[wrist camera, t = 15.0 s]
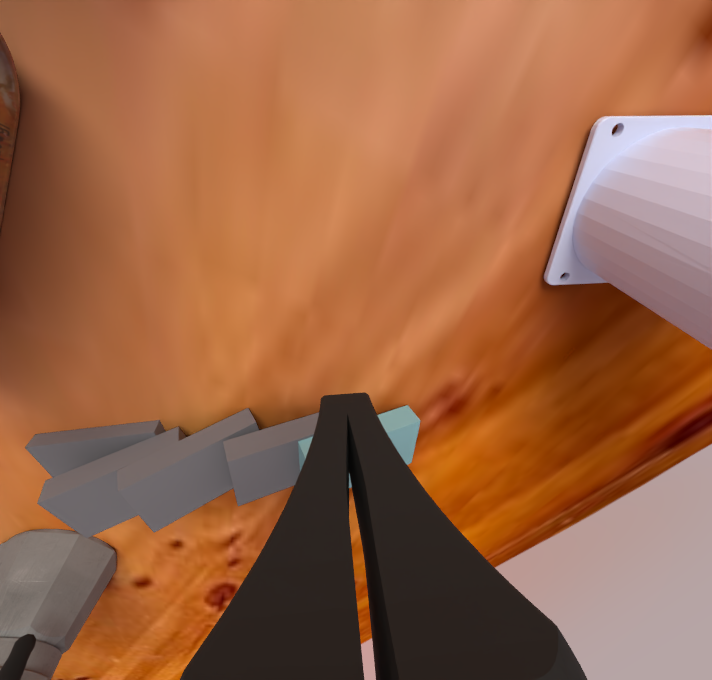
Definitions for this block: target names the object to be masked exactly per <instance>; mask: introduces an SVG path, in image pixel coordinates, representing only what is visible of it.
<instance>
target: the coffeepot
mask: <svg viewBox="0 0 712 680" xmlns="http://www.w3.org/2000/svg"><path fill="white" fill-rule="evenodd" d="M116 560H117V555H116V552H115V551H114V549H113V548H112V547H111V546H109V545H108V544H107V543H105V542H104V541H102V540H100V539H98V538H95V537H93V536H91V537H88V538H85V537H84V536H82V535H81V534H80V533H78V532H75V531H69V530H60V529H39V530H31V531H26V532H23V533H20V534H17V535H15V536H13V537H12V538H10V539H9V540H8V541H7V542H5V543H2V544H0V680H51V678H52V676H53V674H54V671H55V669H56V667H57V665H58V663H59V661H60V658H61V654H63V653H64V652H66V651H67V650H68V649H69V648H70V647H71V645H72V643H73V642H74V640H75V638H76V637H77V635H78V633H79V632H80V630H81V628H82V626H83V625H84V623H85V621H86V620H87V618H88V616H89V615H90V613H91V611H92V610H93V608H94V606H95V605H96V603H97V601H98V600H99V598H100V596H101V594H102V593H103V591H104V589H105V588H106V586H107V584H108V583H109V581H110V579H111V578H112V576H113V574H114V573H115V571H116Z"/></svg>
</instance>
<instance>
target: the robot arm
mask: <svg viewBox="0 0 712 680" xmlns="http://www.w3.org/2000/svg"><path fill="white" fill-rule="evenodd" d="M616 124H617V125H618V128H617V130H616V132H615V133H614V134H613V135H612V129H613V127H614V126H615V125H616ZM563 273H565V275H564V276H563V277H562V278H560V277H561V275H562V274H563ZM544 280H545V281H546V282H547V283H548V284H550V285H568V284H589V283H610V284H612V285H613V286H615V287H616V288H618V289H619V290H621V291H622V292H624V293H625V294H627V295H629V296H630V297H632V298H633V299H635V300H636V301H638V302H639V303H641V304H642V305H644V306H645V307H647V308H649V309H650V310H652V311H653V312H655V313H656V314H658V315H659V316H661V317H662V318H664V319H666V320H667V321H669V322H670V323H672V324H673V325H675V326H676V327H678V328H679V329H681V330H682V331H684V332H686V333H687V334H689V335H690V336H692V337H693V338H695V339H696V340H698V341H699V342H701V343H702V344H704V345H706V346H707V347H709V348H710V349H712V115H686V116H605V117H601V118H600V119H598V120H597V121H596V122H595V124H594V125H593V127H592V129H591V132H590V135H589V138H588V141H587V144H586V147H585V150H584V153H583V157H582V160H581V163H580V166H579V169H578V172H577V175H576V178H575V181H574V184H573V188H572V191H571V194H570V197H569V200H568V203H567V206H566V209H565V212H564V215H563V218H562V222H561V225H560V228H559V231H558V234H557V237H556V240H555V243H554V246H553V249H552V252H551V256H550V259H549V262H548V265H547V268H546V271H545V274H544ZM349 474H350V480H351V485H352V491H353V496H354V502H355V507H356V513H357V518H358V524H359V529H360V535H361V540H362V546H363V553H364V560H365V568H366V578H367V588H368V598H369V609H370V619H371V630H372V640H373V651H374V661H375V671H376V680H587V678H586V676H585V674H584V672H583V670H582V668H581V666H580V664H579V662H578V661H577V659H576V657H575V655H574V654H573V652H572V650H571V648H570V647H569V645H568V643H567V642H566V640H565V639H564V637H563V635H562V634H561V632H560V630H559V629H558V627H557V626H556V625H555V624H554V623H553V622H552V621H551V620H550V619H549V618H547V617H546V616H545V615H544V614H543V613H542V612H541V611H540V610H539V609H538V608H536V607H535V606H534V605H533V604H532V603H531V602H530V601H529V600H528V599H526V598H525V597H524V596H523V595H522V594H521V593H520V592H519V591H518V590H517V589H515V587H514V586H512V585H511V584H510V583H509V582H508V581H507V580H506V579H505V578H504V577H503V576H502V575H501V574H500V573H499V572H498V571H497V570H496V569H495V568H494V567H493V566H492V565H491V564H490V563H489V562H488V561H487V560H486V559H485V558H484V557H483V556H482V555H481V554H480V553H479V552H478V550H477V549H476V548H475V547H474V546H473V545H472V544H471V543H470V542H469V541H468V540H467V539H466V538H465V537H464V536H463V535H462V533H461V532H460V531H459V530H458V529H457V528H456V527H455V526H454V525H453V524H452V522H451V521H450V520H449V519H448V518H447V517H446V515H445V514H444V513H443V512H442V511H441V510H440V508H439V507H438V506H437V505H436V503H435V502H434V501H433V500H432V498H431V497H430V496H429V495H428V493H427V492H426V491H425V490H424V488H423V487H422V486H421V484H420V483H419V481H418V480H417V479H416V477H415V476H414V475H413V473H412V472H411V470H410V469H409V467H408V466H407V465H406V463H405V462H404V460H403V459H402V457H401V456H400V454H399V452H398V451H397V449H396V448H395V446H394V444H393V443H392V441H391V439H390V438H389V436H388V434H387V433H386V431H385V429H384V427H383V425H382V424H381V422H380V420H379V418H378V416H377V414H376V412H375V410H374V407H373V405H372V403H371V400H370V398H369V395H368V394H366V393H353V394H339V395H326V396H323V397H322V398H321V404H320V411H319V416H318V420H317V424H316V428H315V432H314V435H313V438H312V441H311V444H310V447H309V450H308V453H307V456H306V459H305V461H304V464H303V466H302V469H301V471H300V474H299V476H298V479H297V481H296V484H295V486H294V488H293V490H292V493H291V495H290V497H289V499H288V501H287V504H286V506H285V508H284V510H283V512H282V514H281V516H280V518H279V520H278V522H277V524H276V526H275V527H274V529H273V531H272V533H271V535H270V537H269V539H268V540H267V542H266V544H265V546H264V548H263V550H262V551H261V553H260V555H259V557H258V558H257V560H256V562H255V564H254V565H253V567H252V568H251V570H250V572H249V573H248V575H247V577H246V578H245V580H244V581H243V583H242V585H241V586H240V588H239V589H238V591H237V593H236V594H235V596H234V597H233V599H232V601H231V602H230V604H229V605H228V607H227V609H226V610H225V612H224V613H223V615H222V616H221V618H220V619H219V621H218V622H217V623H216V625H215V626H214V628H213V629H212V631H211V632H210V634H209V635H208V636H207V638H206V639H205V641H204V642H203V644H202V645H201V647H200V648H199V649H198V651H197V652H196V654H195V655H194V657H193V658H192V660H191V661H190V662H189V664H188V665H187V667H186V668H185V670H184V672H183V674H182V676H181V678H180V680H364V673H363V663H362V653H361V642H360V632H359V622H358V611H357V601H356V590H355V580H354V569H353V558H352V547H351V536H350V525H349Z"/></svg>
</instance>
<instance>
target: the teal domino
mask: <svg viewBox="0 0 712 680" xmlns="http://www.w3.org/2000/svg"><path fill="white" fill-rule="evenodd" d="M377 416H378V418H379V420H380V422H381V424H382V425H383V427H384V429H385V431H386V433H387V434H388V436H389V438H390V439H391V441H392V443H393V444H394V446H395V448H396V449H397V451H398V452H399V454H400V456H401V457H402V459H403V460H404V462H405V463H406V465H407V464H410V463H411V462H412V458H413V453H414V448H415V444H416V439H417V435H418V430H419V425H420V420H419V418H418V417H417V416H416V415H415V413H414V412H413V411H412V410H411V409H410V407H409V406H408V405H406V406H403V407H400V408H397V409H394V410H391V411H388V412H385V413H382V414H379V415H377ZM312 438H313V437H310V438H307V439H304V440H301V441H298V448H299V463H300V471H301V469H302V466H303V464H304V461H305V459H306V456H307V453H308V450H309V447H310V444H311V441H312ZM351 487H352V485H351V480H350V474H349V488H351Z"/></svg>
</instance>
